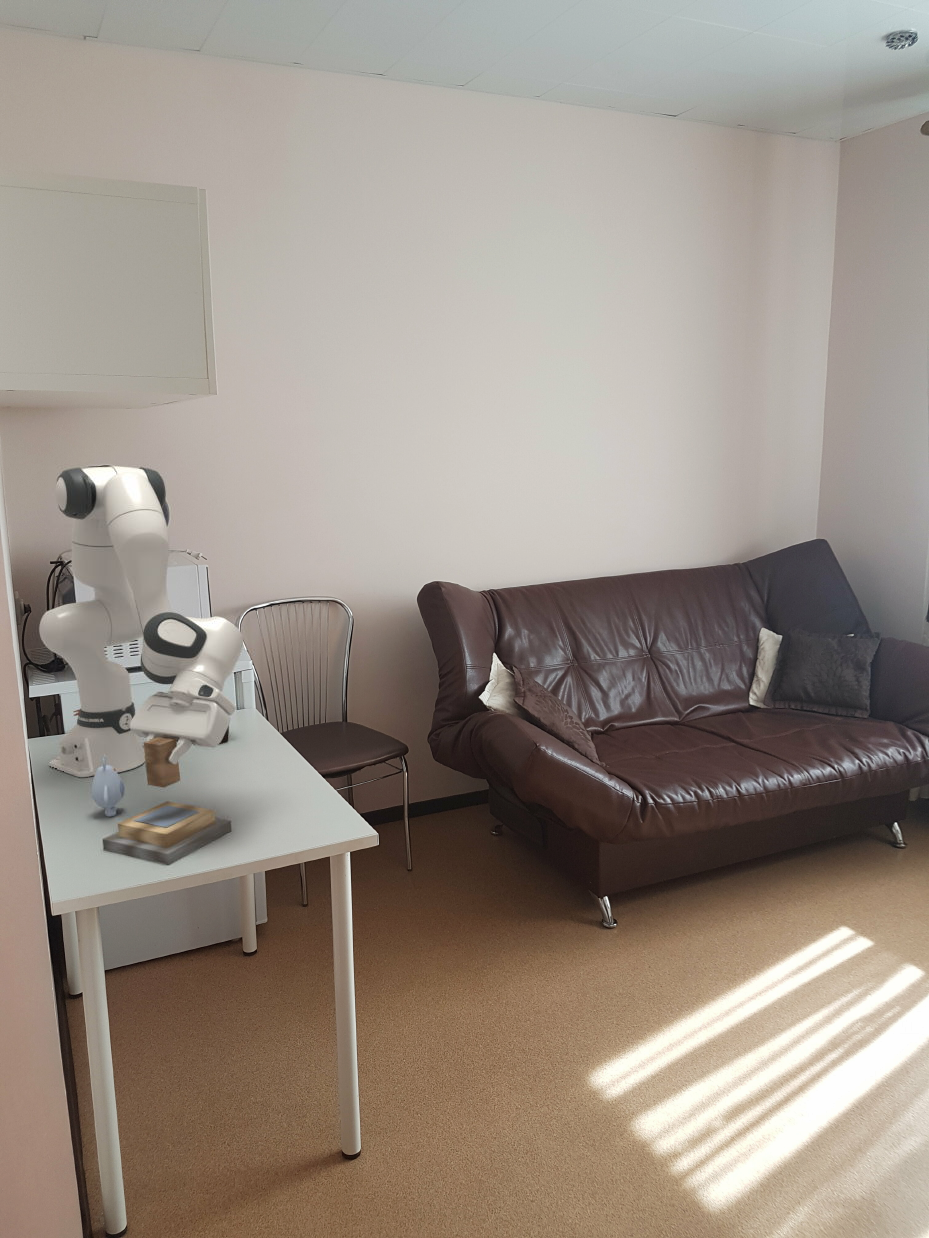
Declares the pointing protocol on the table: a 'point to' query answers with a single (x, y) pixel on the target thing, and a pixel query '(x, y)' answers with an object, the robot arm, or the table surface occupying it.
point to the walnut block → (160, 762)
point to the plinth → (171, 850)
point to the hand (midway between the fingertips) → (159, 760)
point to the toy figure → (107, 788)
